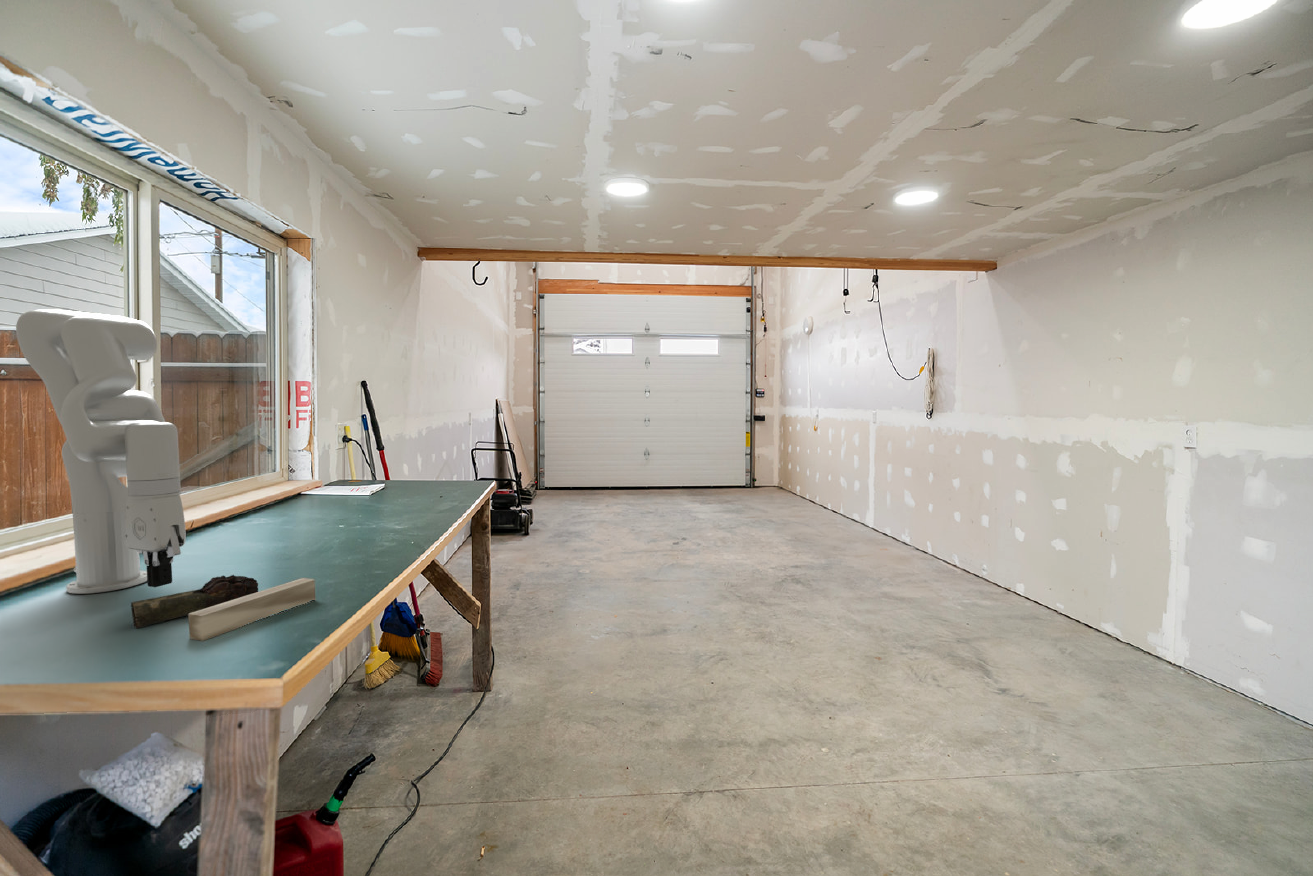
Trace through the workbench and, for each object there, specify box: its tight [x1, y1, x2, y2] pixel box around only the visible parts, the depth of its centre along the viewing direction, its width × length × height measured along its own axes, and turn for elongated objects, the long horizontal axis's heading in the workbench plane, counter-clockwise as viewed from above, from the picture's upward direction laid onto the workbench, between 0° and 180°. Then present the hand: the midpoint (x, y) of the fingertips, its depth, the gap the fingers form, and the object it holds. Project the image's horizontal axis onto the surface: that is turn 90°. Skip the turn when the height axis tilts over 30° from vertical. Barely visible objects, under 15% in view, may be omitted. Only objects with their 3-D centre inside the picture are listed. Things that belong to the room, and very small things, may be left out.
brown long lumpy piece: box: [130, 574, 259, 629], centre depth 104 cm, size 18×7×6 cm, turn 136°
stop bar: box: [187, 577, 316, 642], centre depth 101 cm, size 3×20×4 cm, turn 160°
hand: (160, 584), depth 110 cm, fingers closed
